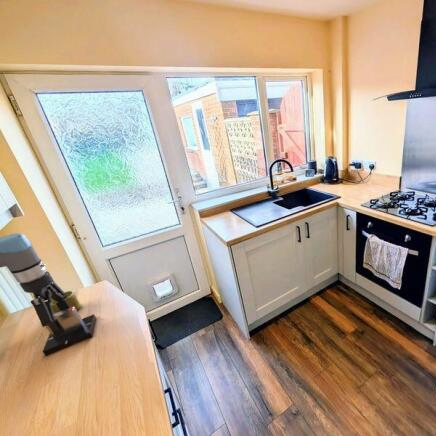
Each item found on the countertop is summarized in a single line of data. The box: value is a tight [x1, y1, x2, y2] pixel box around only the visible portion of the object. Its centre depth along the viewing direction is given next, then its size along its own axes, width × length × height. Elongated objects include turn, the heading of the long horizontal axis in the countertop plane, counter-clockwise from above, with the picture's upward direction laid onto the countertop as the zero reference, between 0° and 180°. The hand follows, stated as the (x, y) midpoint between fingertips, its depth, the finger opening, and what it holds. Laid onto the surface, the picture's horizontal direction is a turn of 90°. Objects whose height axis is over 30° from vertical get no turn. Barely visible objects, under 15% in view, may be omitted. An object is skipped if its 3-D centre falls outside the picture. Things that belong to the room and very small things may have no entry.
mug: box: [51, 290, 82, 314], centre depth 107 cm, size 12×10×10 cm
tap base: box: [42, 314, 98, 357], centre depth 94 cm, size 14×13×3 cm
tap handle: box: [44, 307, 85, 339], centre depth 92 cm, size 9×2×9 cm, turn 120°
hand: (65, 323), depth 92 cm, fingers open, 11 cm apart
